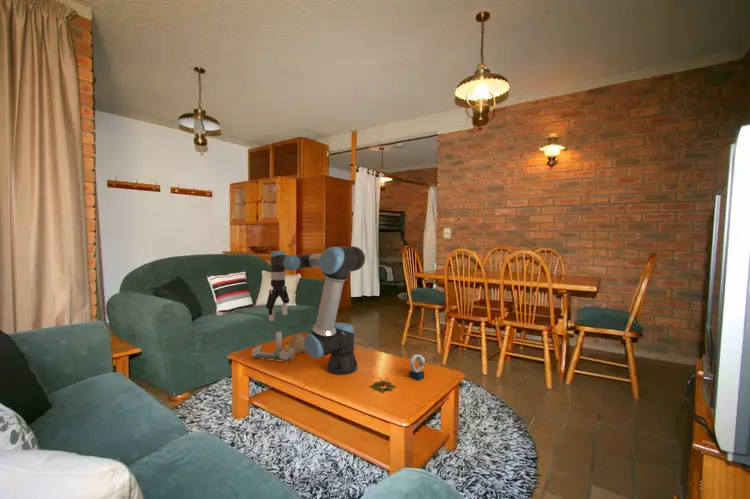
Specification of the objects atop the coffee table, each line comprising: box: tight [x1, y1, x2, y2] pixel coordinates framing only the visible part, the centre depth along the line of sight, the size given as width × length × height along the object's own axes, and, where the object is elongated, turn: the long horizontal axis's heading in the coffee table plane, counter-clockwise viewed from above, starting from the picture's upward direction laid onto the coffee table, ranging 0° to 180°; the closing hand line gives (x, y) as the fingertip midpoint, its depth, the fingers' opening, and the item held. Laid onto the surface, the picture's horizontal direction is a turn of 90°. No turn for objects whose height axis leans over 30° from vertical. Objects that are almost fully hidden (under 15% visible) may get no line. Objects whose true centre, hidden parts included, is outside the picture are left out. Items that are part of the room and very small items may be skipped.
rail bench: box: [251, 345, 295, 362], centre depth 185 cm, size 22×7×5 cm, turn 75°
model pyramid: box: [282, 333, 308, 355], centre depth 201 cm, size 17×17×10 cm
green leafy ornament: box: [369, 378, 397, 394], centre depth 150 cm, size 12×12×5 cm
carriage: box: [272, 331, 284, 357], centre depth 184 cm, size 4×5×13 cm
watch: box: [408, 353, 426, 382], centre depth 159 cm, size 6×8×11 cm
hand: (278, 317), depth 184 cm, fingers open, 13 cm apart
